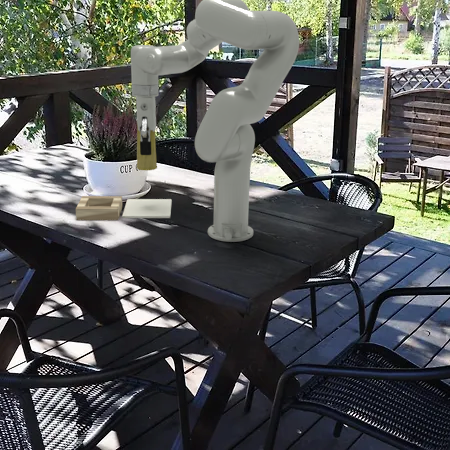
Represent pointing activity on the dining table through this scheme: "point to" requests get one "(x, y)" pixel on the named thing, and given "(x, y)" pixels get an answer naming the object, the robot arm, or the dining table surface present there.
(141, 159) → the vase
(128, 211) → the board
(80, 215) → the holder
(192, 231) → the dining table surface
